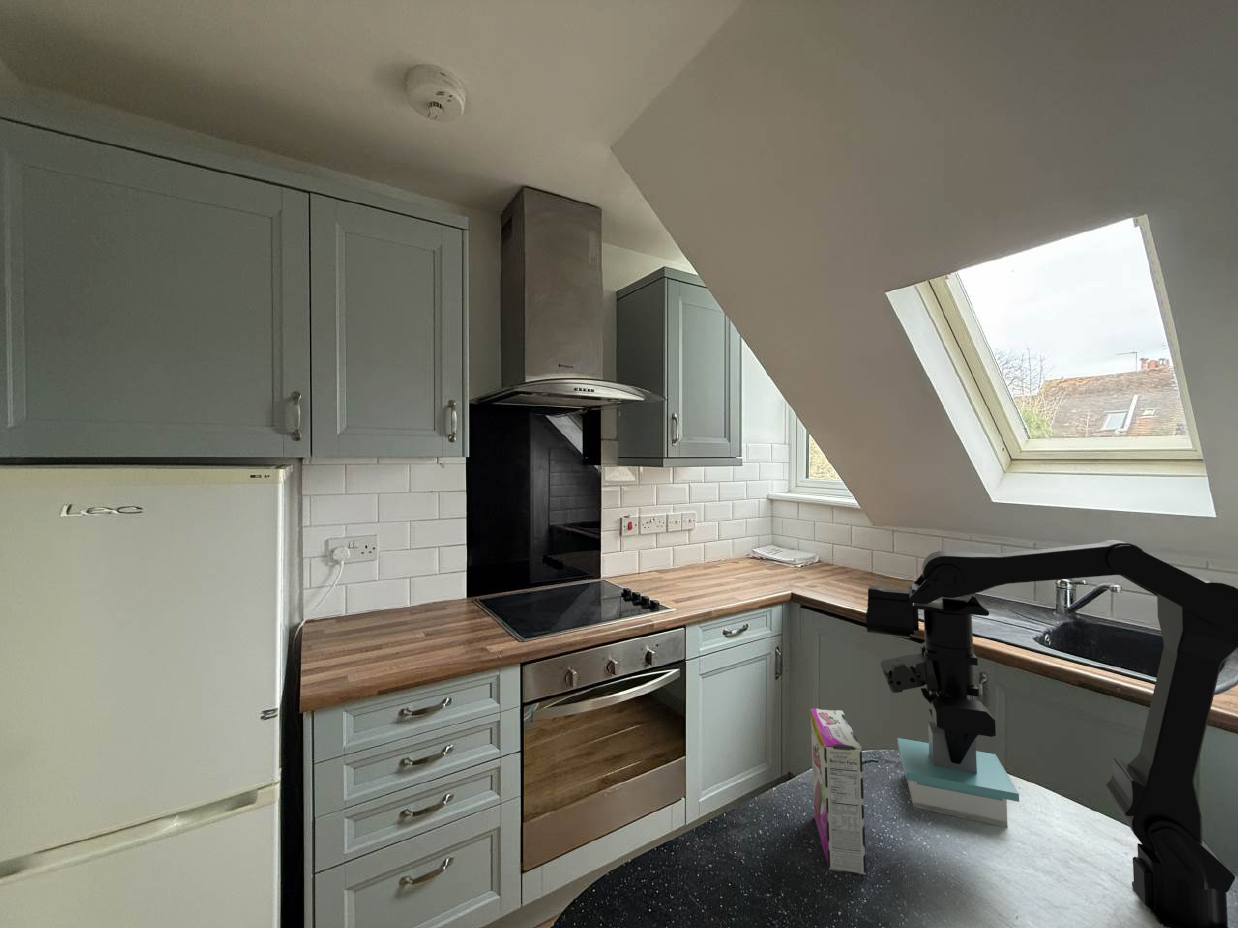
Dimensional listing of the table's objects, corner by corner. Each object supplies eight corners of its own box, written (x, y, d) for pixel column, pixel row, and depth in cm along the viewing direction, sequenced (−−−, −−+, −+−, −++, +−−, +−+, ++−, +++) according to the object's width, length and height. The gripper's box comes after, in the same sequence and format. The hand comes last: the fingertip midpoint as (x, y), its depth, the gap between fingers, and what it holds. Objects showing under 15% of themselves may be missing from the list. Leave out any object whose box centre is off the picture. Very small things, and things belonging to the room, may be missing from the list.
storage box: (988, 790, 82) (987, 759, 82) (1007, 827, 73) (1006, 792, 74) (905, 774, 87) (904, 744, 87) (913, 806, 78) (912, 774, 78)
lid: (996, 768, 72) (994, 722, 72) (1019, 809, 63) (1017, 757, 63) (897, 751, 77) (896, 708, 77) (906, 787, 68) (905, 738, 68)
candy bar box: (811, 815, 76) (809, 706, 77) (846, 820, 75) (843, 709, 76) (826, 872, 65) (823, 743, 66) (867, 877, 64) (864, 747, 65)
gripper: (878, 620, 82) (881, 716, 82) (890, 656, 65) (894, 779, 65) (959, 627, 78) (962, 729, 77) (994, 668, 61) (999, 800, 60)
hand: (952, 755), depth 70 cm, fingers closed on lid, 3 cm apart
